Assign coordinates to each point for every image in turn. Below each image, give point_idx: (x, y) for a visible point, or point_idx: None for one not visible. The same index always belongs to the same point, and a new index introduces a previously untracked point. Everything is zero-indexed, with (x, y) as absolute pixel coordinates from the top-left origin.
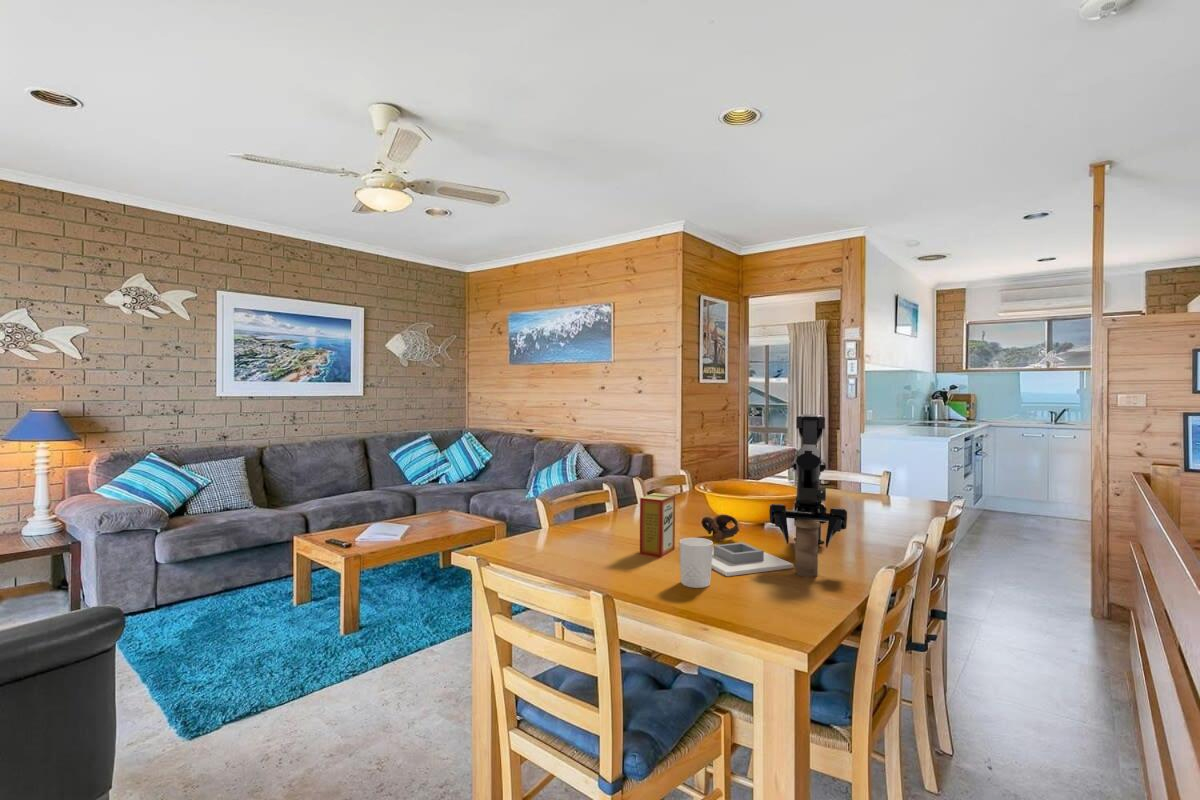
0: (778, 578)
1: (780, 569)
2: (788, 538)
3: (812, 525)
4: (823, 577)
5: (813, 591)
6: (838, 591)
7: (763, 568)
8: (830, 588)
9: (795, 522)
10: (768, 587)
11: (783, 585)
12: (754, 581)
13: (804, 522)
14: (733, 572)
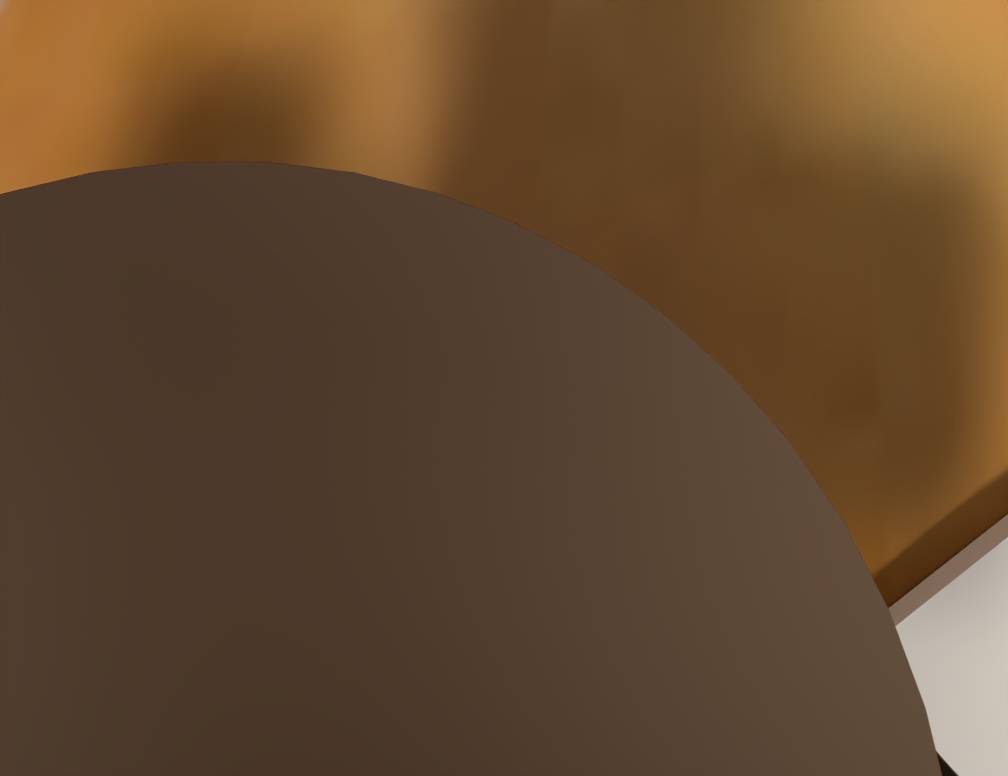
0: (757, 349)
1: None
2: None
3: (29, 212)
4: None
5: (421, 21)
6: (172, 73)
7: (965, 565)
8: (234, 144)
9: (875, 592)
10: (847, 39)
11: (704, 129)
12: (998, 186)
13: (366, 620)
14: None
